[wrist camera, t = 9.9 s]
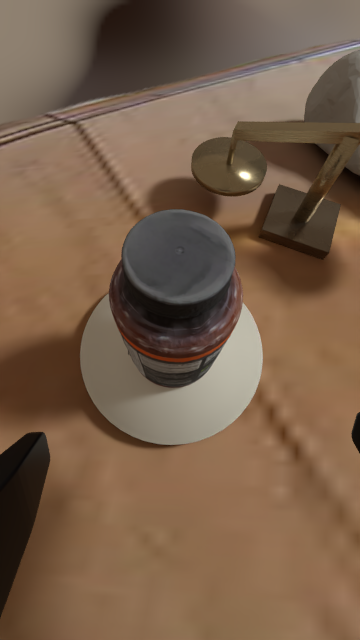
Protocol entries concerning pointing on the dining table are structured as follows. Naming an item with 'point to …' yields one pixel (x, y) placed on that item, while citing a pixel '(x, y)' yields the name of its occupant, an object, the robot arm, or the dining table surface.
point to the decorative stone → (337, 100)
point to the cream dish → (161, 402)
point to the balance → (288, 204)
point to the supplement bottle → (176, 295)
